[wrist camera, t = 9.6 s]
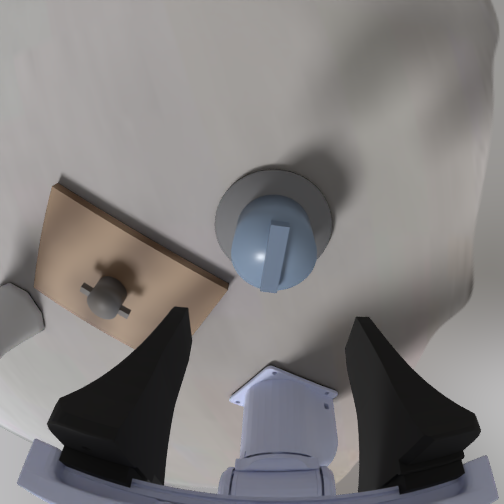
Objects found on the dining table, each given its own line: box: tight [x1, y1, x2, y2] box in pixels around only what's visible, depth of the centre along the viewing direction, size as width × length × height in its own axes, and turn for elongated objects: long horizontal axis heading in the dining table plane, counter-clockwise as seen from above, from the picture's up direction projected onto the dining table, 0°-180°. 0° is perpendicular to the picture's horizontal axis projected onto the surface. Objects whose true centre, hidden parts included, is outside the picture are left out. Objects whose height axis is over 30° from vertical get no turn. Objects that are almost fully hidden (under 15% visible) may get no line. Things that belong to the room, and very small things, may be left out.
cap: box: [231, 195, 317, 293], centre depth 19 cm, size 5×5×4 cm
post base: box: [34, 183, 229, 349], centre depth 24 cm, size 16×12×3 cm
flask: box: [0, 283, 44, 358], centre depth 24 cm, size 7×7×10 cm
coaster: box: [215, 169, 332, 261], centre depth 21 cm, size 8×8×1 cm
